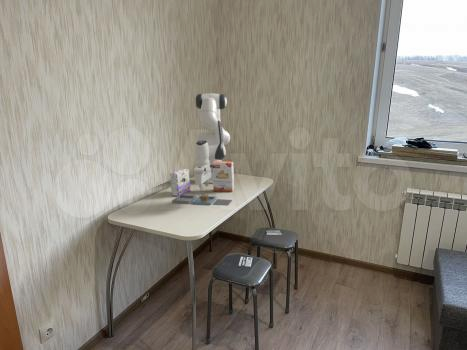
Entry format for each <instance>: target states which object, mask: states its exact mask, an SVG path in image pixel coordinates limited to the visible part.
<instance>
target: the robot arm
mask: <svg viewBox="0 0 467 350" xmlns="http://www.w3.org/2000/svg"><path fill="white" fill-rule="evenodd" d="M194 103H195V107H196V108H197V109H199V110H200V113H199V120H200V123H201V125H203V126H204V127H205V128H208V129H210V131H202V132H199V133H198V134H197V135H196V137H195V141H196V142H195V144H194V157H195V165H194V166H195V167H194V168H193V173H194V183H195V185H197V186H198V187H199V191H204V187H203V185H204V186H205V187H209V184H213V167H212V163H213V162H214V161H223V159H224V158H225V157H226V154H227V153H226V152H227V151H226V147H225V145H228V144H229V143H230V141H231V135H230V133H229V132H228V131H227V130H225V129H224V127H223V126H222V123H221V110H223V109H225V108H226V106H227V104H228V99H227V97H226V95H225V94H222V93H212V92H211V93H198V94H197V95H196V96H195V100H194ZM211 130H212V131H211Z"/></svg>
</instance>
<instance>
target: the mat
mask: <svg viewBox="0 0 467 350" xmlns="http://www.w3.org/2000/svg"><path fill="white" fill-rule="evenodd" d="M232 201H233V199H225V198H224V199H220V198H218V199H216V200H215V201H214V202H213V203H212V205H215V206H229V205H230V203H232Z"/></svg>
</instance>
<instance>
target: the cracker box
mask: <svg viewBox="0 0 467 350" xmlns="http://www.w3.org/2000/svg"><path fill="white" fill-rule="evenodd" d="M212 167H213V183H212V186H213V192H227V193H233V192H234V191H235V173H234V171H235V170H234V161H223V160H222V161H214V162H213V163H212Z"/></svg>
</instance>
